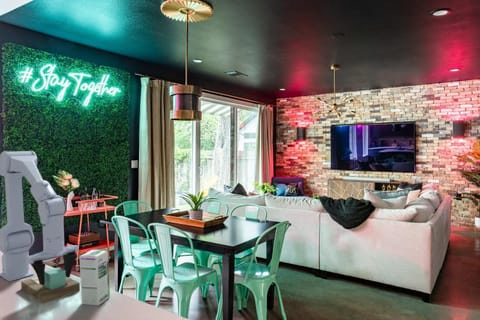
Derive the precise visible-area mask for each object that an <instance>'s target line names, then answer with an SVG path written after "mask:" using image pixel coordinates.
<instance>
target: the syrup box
mask: <svg viewBox="0 0 480 320" xmlns="http://www.w3.org/2000/svg"><path fill="white" fill-rule="evenodd" d="M109 267H110V266H109V251H108V250H106V249H105V250H104V249H91V250H89V251H87V252H86V253H83V254H81V255H79V275H80V295H81V298H80V299H81V304H82V305H88V306H100V305H101V304H102V303H104V302H105V301H107V299H109V298H110V297H111V294H110V293H111V292H110V271H109Z"/></svg>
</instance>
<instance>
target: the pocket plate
mask: <svg viewBox="0 0 480 320" xmlns="http://www.w3.org/2000/svg"><path fill="white" fill-rule="evenodd" d="M20 284H21V285H20V287H21V288H20V289H21V290H22V291H24V292H25V293H26V294H28V295H30V296H31V297H32V298H34V299H35V300H37V301H38V302H40V303H42V304H44V303H47V302H50V301H55V300H57V299H60V298H63V297H65V296H68V295H71V294H75V293H78V292H81V282H78V281H77V280H74V279H73V278H71V277H66V285H65V286H61V287H58V288H55V289H52V290H49V289H47V288H45V287H44V285H41V284H39V280H38V277H37V276H35V277H32V278H28V279H24V280H21V281H20Z"/></svg>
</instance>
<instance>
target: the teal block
mask: <svg viewBox="0 0 480 320" xmlns="http://www.w3.org/2000/svg"><path fill="white" fill-rule="evenodd" d="M44 276H45V285H44V287H45V288H47V289H49V290H52V289H55V288H58V287H61V286H65V285H66V273H65V270H64V269H63V268H61V267H55V268H51V269H48V270H47V269H46V270H45V272H44Z"/></svg>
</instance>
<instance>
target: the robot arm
mask: <svg viewBox="0 0 480 320" xmlns="http://www.w3.org/2000/svg"><path fill="white" fill-rule="evenodd" d="M37 166H38V157H37V154H36V152H35V151H34V150H28V151H27V150H26V151H24V150H23V151H18V150H17V151H4V150H3V151H2V152H1V153H0V176H2V177H4V187H5V188H4V189H5V205H6V221H7V223H6V224H5V225H4V226H3V227H1V228H0V253H2V256H1V273H0V277H2V278H3V279H4V280H6V281H8V282H12V281H15V280H19V279H23V278H27V277H30V276H33V275H34V274H36V277H38V280H39V284H41V285H45V276H44V272H45V271H46V263H44V261H46V260H50V259H53V258H56V257H58V258H59V257H62V259H63V266H64V269H63V270H65V273H66V277H69V278H71V274H72V273H71V272H72V269H73V266H74V264H75V262H76V260H77V258H78V254H77V253H79V251H80V250H79V245H77V244H75V245H70V246H68V245H67V246H65V230H64V216H65V215H66V213H67V211H68V204H67V202H66V199H65V198H64V197H63V196H60V194H58V195H57V193H56V192H55V190H54V189H53V187H52V185H51V184H50V182H49V181H47V180H44V179H43V177H42V175H41V173H40V171H39V168H38V167H37ZM23 177H24V178H25V179H26V180H27V182H28V183H29V185H30V186H31V187H30V189H29V191H30V193H31V195H32V197H33V198H34V200H35V202H36V203H37V205H38V206H37V211H38V216H39V219H40V220H39V222H40V224H41V225H42V243H43V244H42V245H43V246H42V248H43V250H42V251H40V252H38V253H35V254H31V255H29V250H30V249H31V247H32V246H33V245H34V242H35V235H34V232H33V227H32V226H31V225H30V224H28V223H26V222H25V216H24V212H25V211H24V197H23V196H24V195H23V184H22V183H23ZM30 265H31V267H32V269H33V271H34V272H32V271H31V270H30Z"/></svg>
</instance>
